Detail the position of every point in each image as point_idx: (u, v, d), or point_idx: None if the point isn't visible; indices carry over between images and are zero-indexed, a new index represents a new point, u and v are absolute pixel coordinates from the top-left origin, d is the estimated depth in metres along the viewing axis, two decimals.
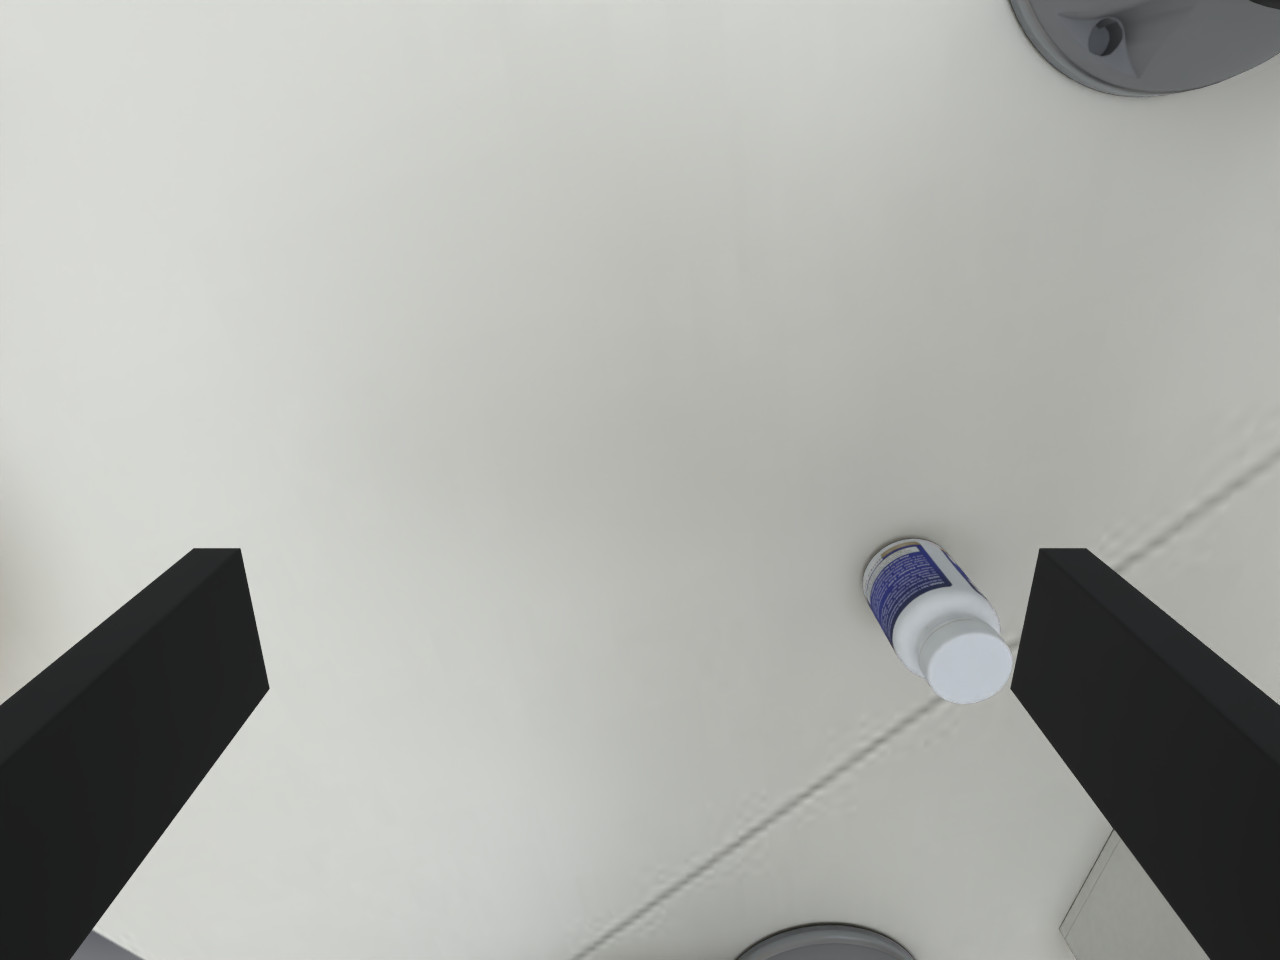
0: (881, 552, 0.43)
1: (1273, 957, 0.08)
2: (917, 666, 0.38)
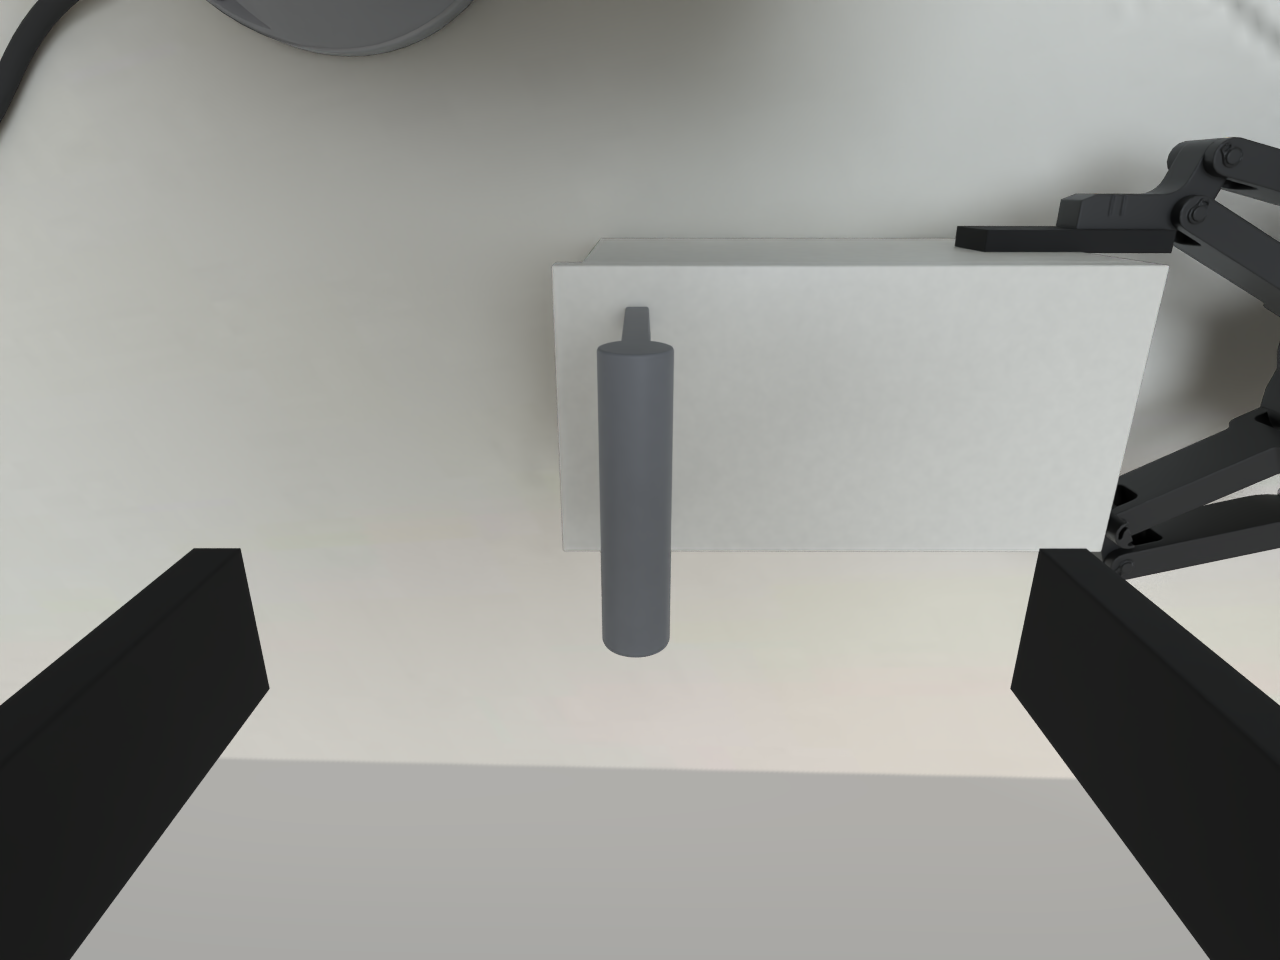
0: None
1: (1274, 958, 0.08)
2: None
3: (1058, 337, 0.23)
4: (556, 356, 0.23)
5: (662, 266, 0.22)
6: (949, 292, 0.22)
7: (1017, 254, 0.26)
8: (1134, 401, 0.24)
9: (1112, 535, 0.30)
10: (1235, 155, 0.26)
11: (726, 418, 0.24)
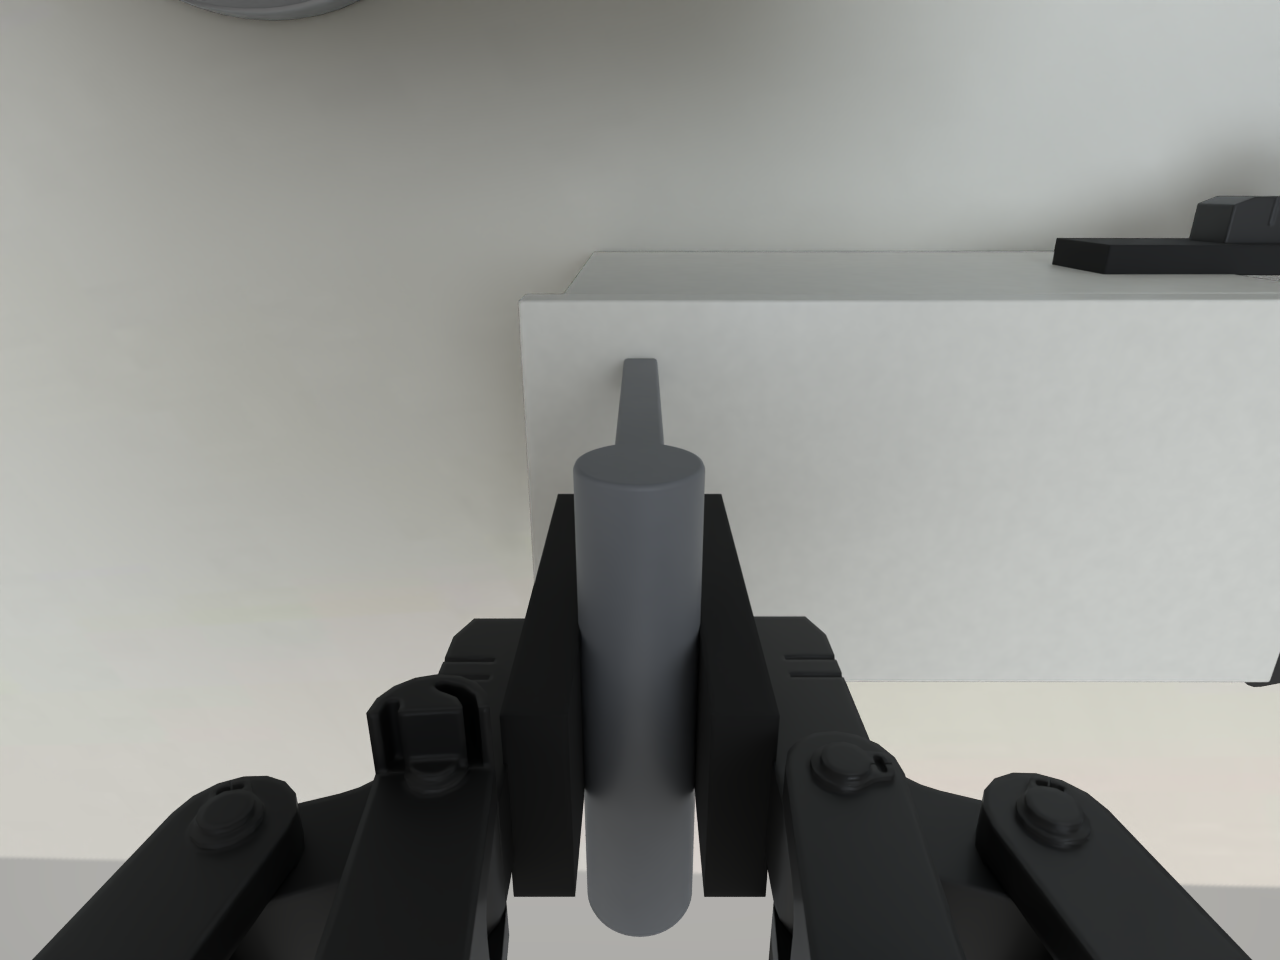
0: None
1: (700, 788, 0.10)
2: None
3: (1236, 400, 0.16)
4: (527, 426, 0.17)
5: (676, 301, 0.16)
6: (1085, 338, 0.16)
7: (1154, 278, 0.19)
8: None
9: None
10: None
11: (764, 509, 0.17)
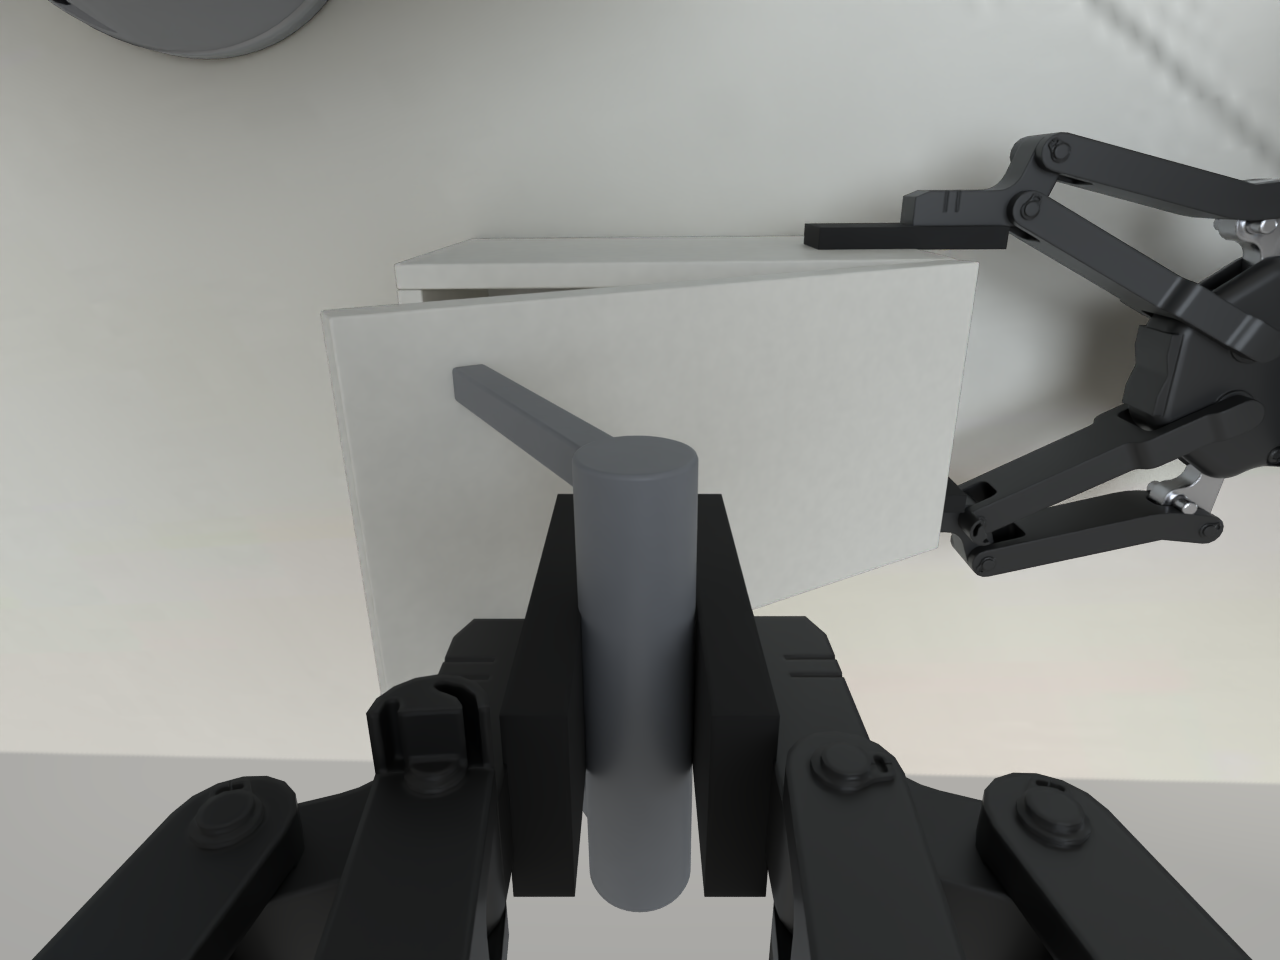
0: None
1: (701, 788, 0.10)
2: None
3: (903, 344, 0.22)
4: (352, 455, 0.15)
5: (497, 304, 0.15)
6: (814, 307, 0.20)
7: (846, 252, 0.26)
8: (958, 398, 0.24)
9: (968, 532, 0.30)
10: (1063, 150, 0.25)
11: None
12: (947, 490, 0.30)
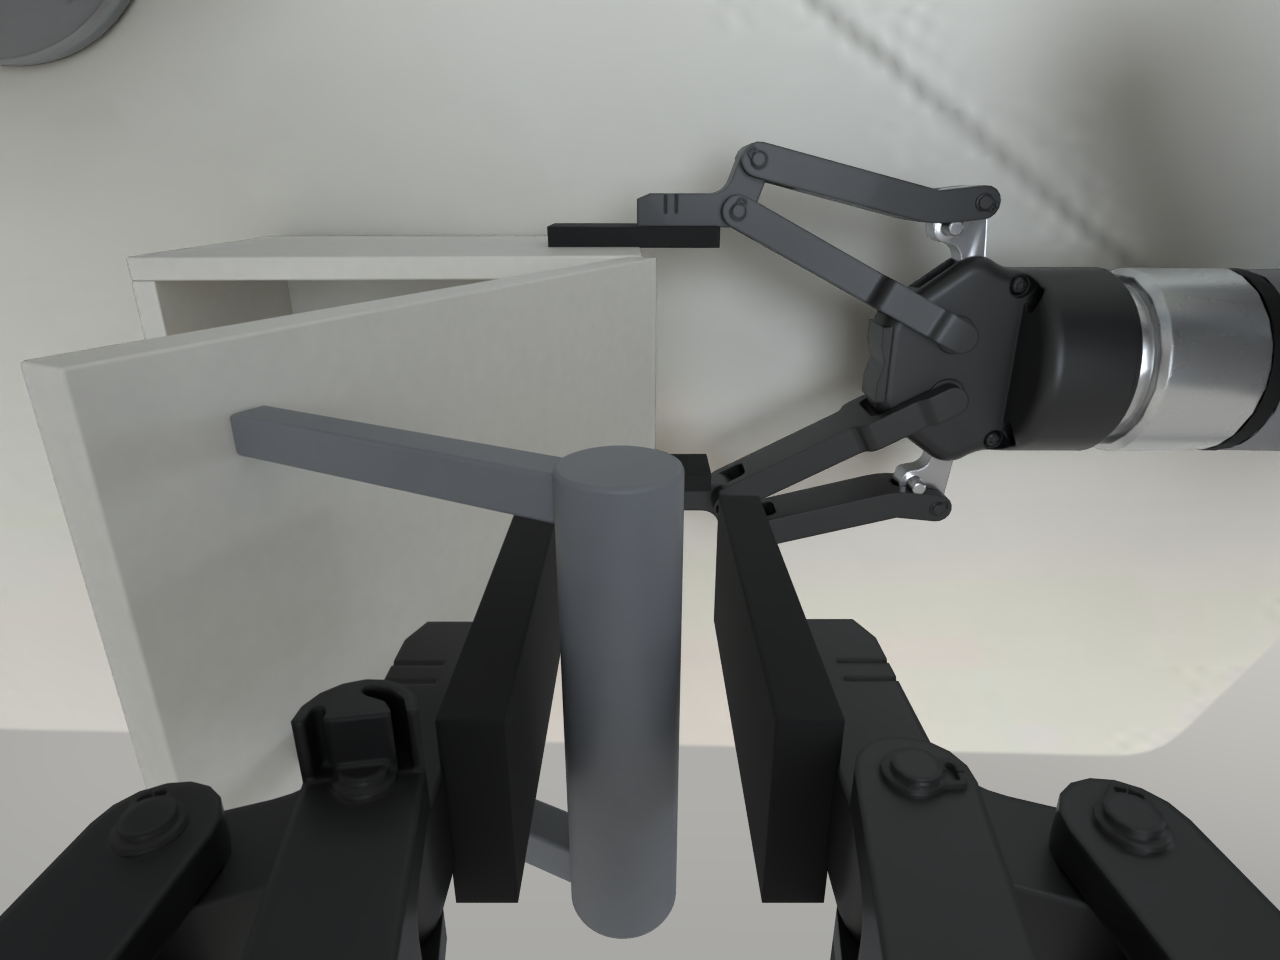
0: None
1: (755, 793, 0.10)
2: None
3: (616, 336, 0.23)
4: (114, 552, 0.11)
5: (272, 331, 0.13)
6: (553, 307, 0.20)
7: (567, 249, 0.28)
8: (654, 380, 0.26)
9: (713, 509, 0.32)
10: (761, 158, 0.28)
11: (394, 535, 0.16)
12: (696, 470, 0.33)
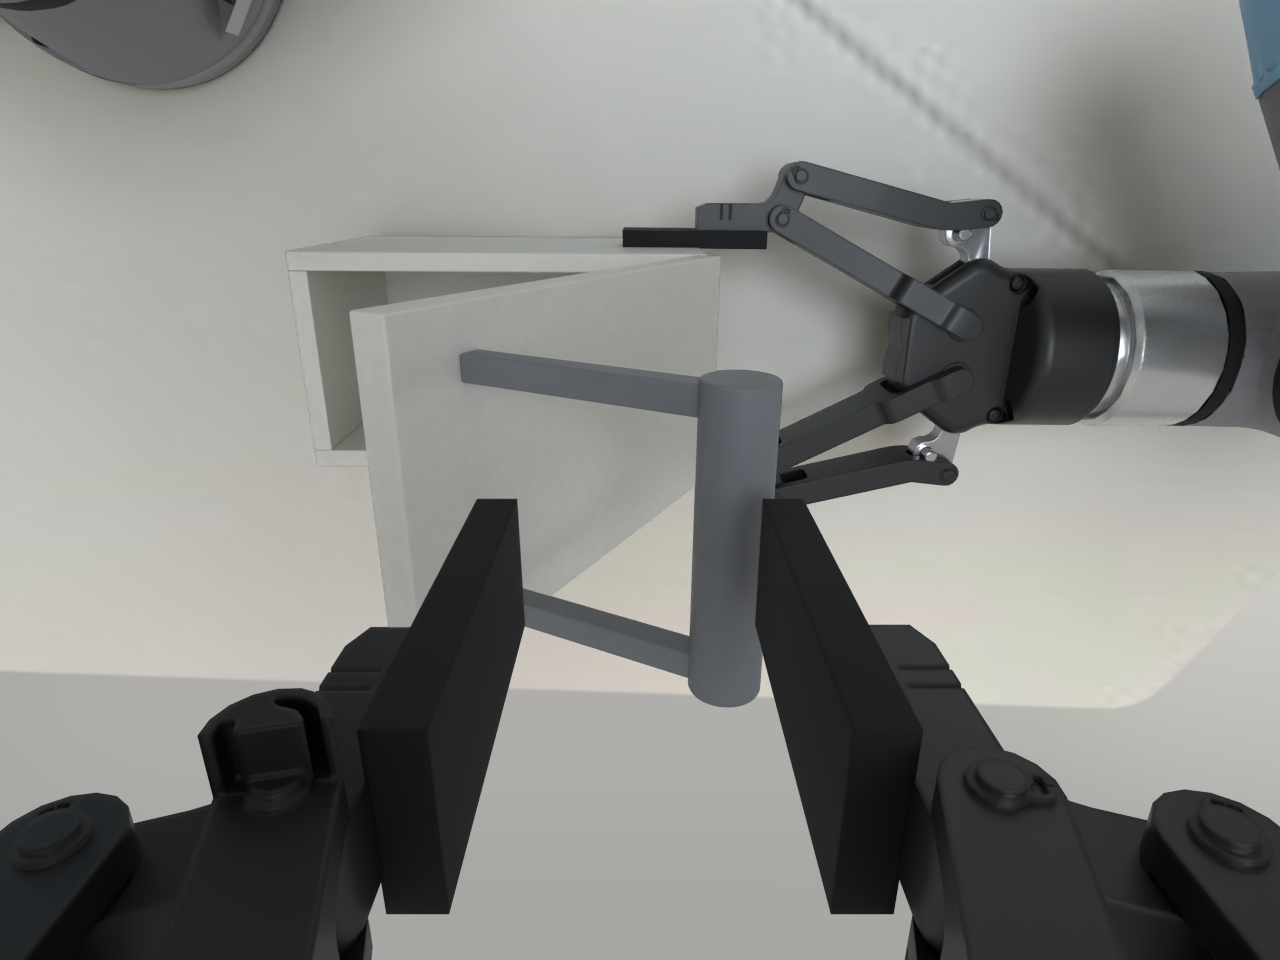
0: None
1: (819, 802, 0.10)
2: None
3: (690, 318, 0.29)
4: (397, 438, 0.17)
5: (484, 298, 0.18)
6: (648, 292, 0.26)
7: (640, 248, 0.34)
8: None
9: None
10: (803, 175, 0.34)
11: (541, 455, 0.22)
12: None
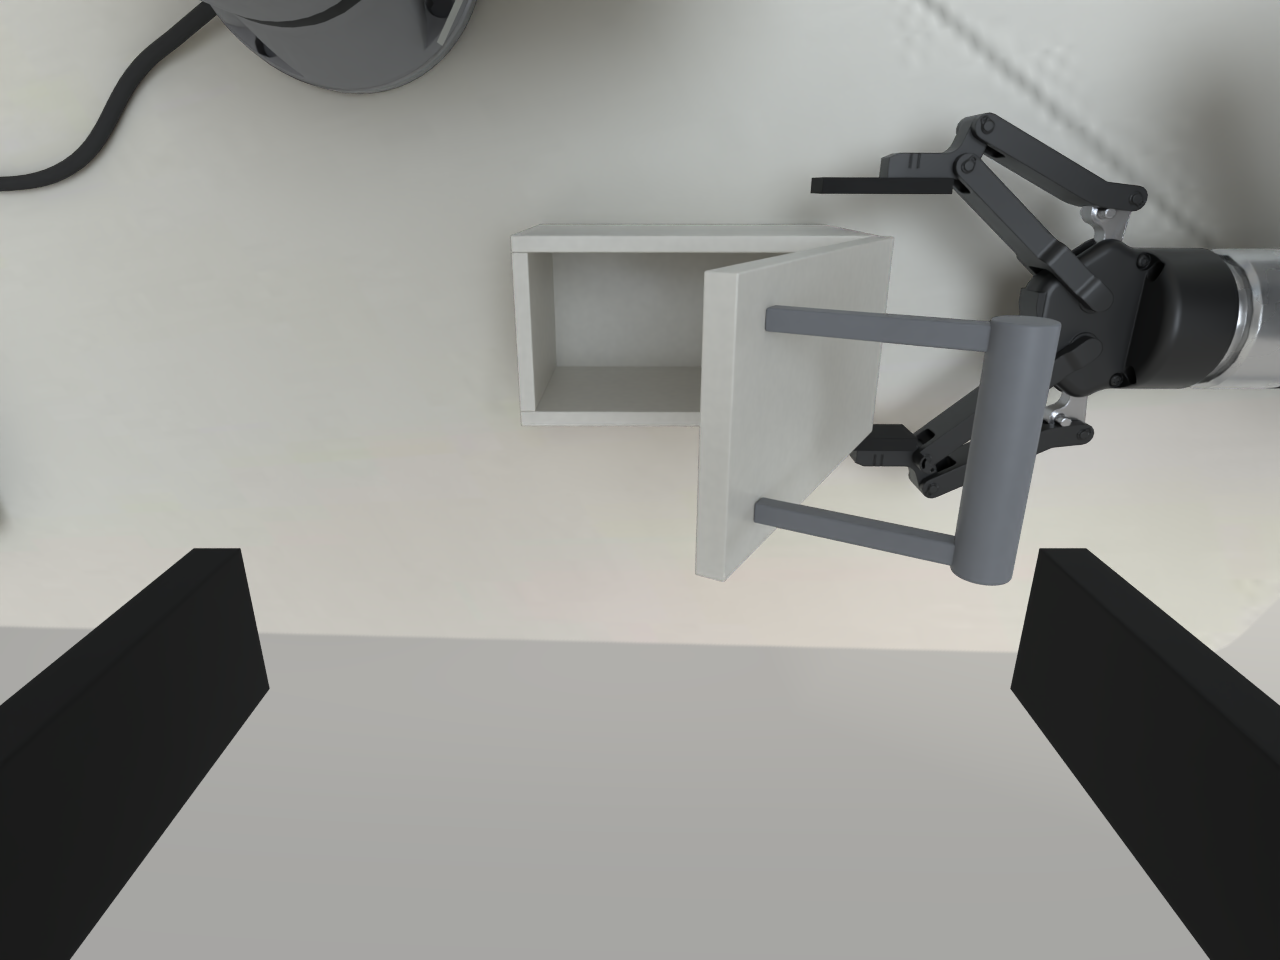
0: None
1: (1274, 958, 0.08)
2: None
3: (873, 290, 0.33)
4: (733, 372, 0.21)
5: (780, 264, 0.23)
6: (855, 265, 0.30)
7: (809, 232, 0.38)
8: None
9: (918, 466, 0.43)
10: (989, 125, 0.37)
11: (793, 398, 0.26)
12: (904, 435, 0.43)
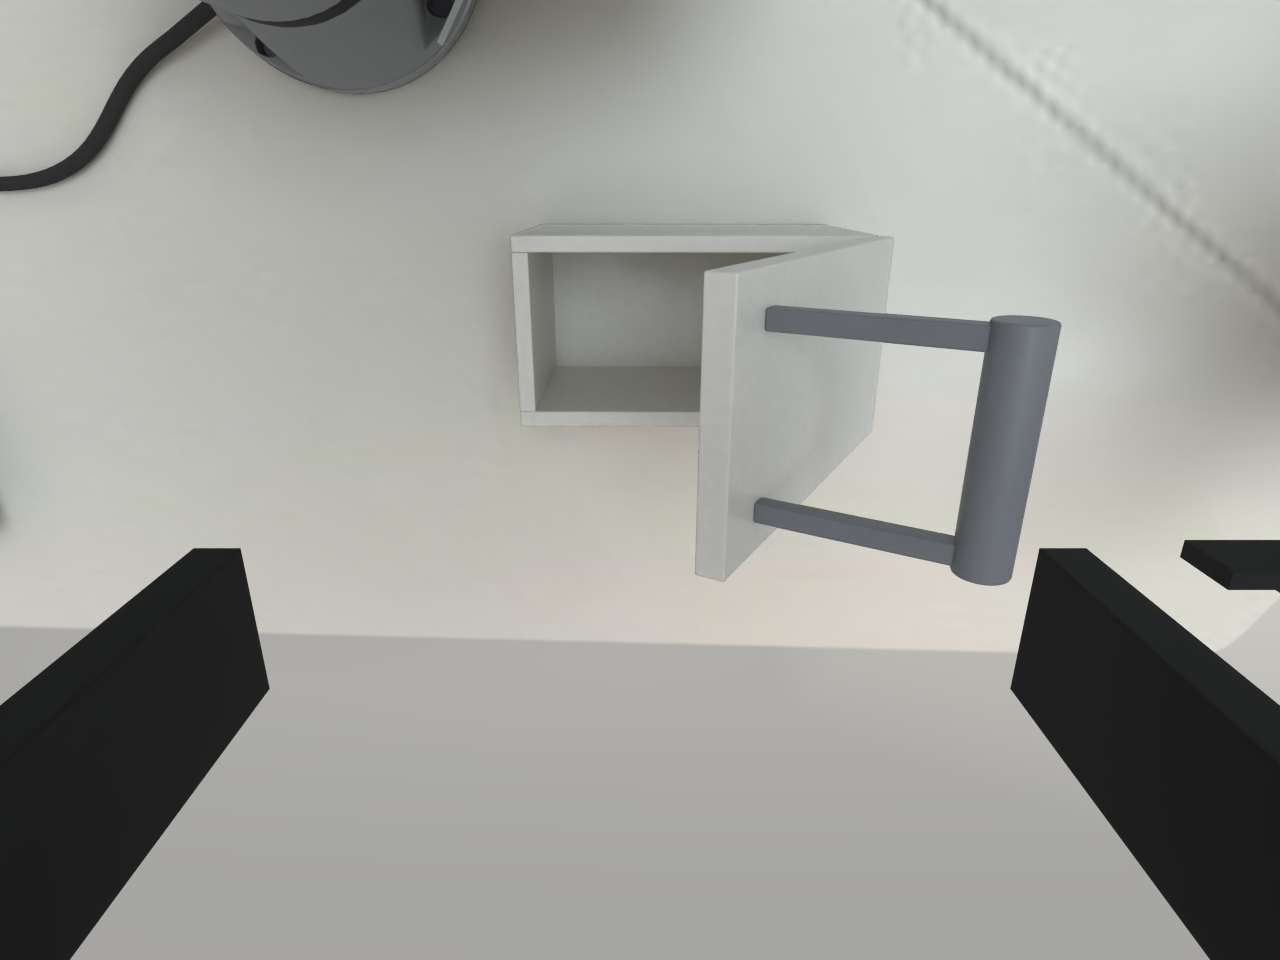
0: None
1: (1274, 958, 0.08)
2: None
3: (873, 290, 0.33)
4: (733, 372, 0.21)
5: (780, 264, 0.23)
6: (855, 266, 0.30)
7: (809, 232, 0.38)
8: None
9: None
10: None
11: (792, 398, 0.26)
12: None
